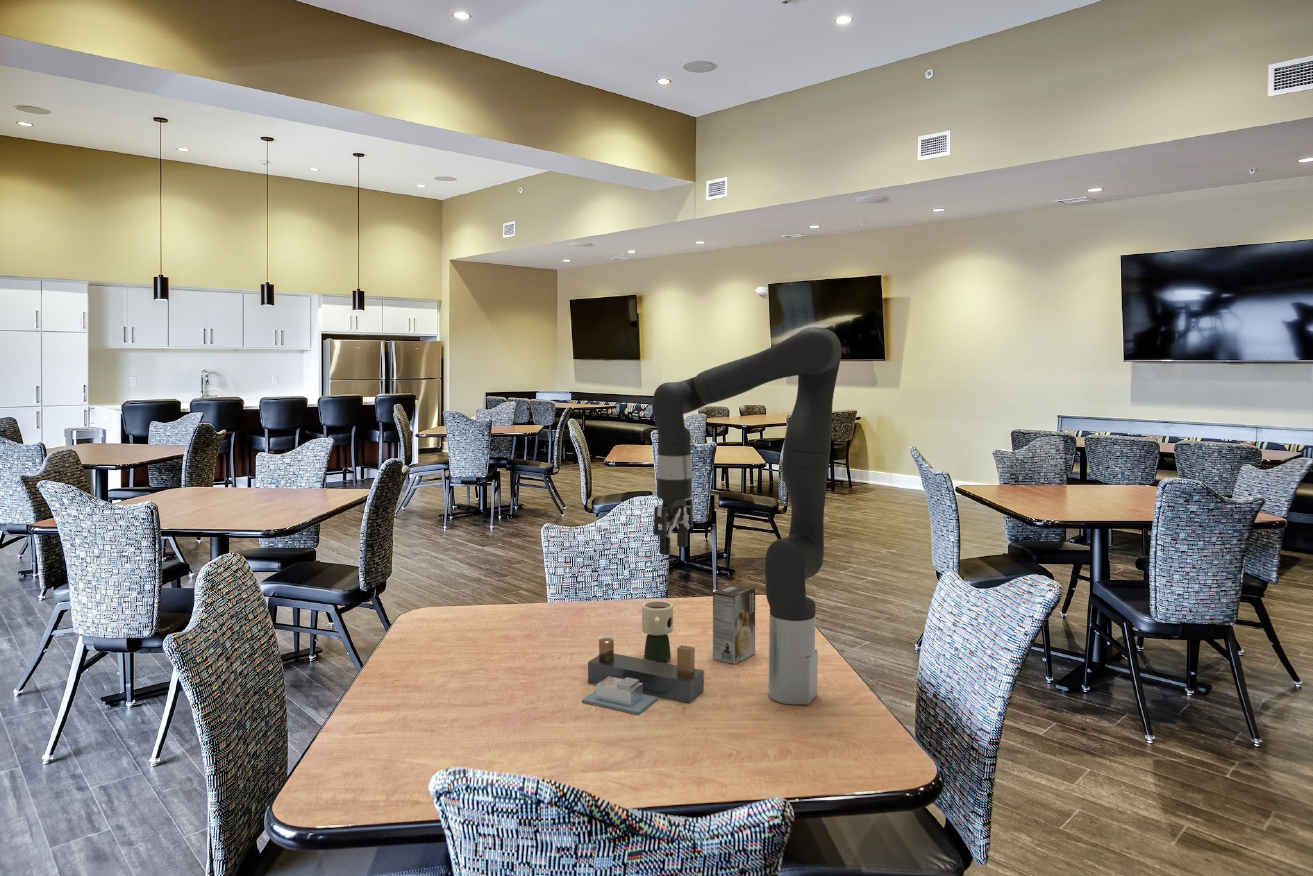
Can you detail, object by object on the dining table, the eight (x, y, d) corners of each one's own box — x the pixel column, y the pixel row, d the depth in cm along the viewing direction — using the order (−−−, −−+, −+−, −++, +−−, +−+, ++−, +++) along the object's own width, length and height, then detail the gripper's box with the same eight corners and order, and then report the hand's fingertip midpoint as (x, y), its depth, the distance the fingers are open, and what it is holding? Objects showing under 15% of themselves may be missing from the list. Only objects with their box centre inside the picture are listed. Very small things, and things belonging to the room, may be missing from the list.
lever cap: (642, 697, 163) (642, 679, 163) (630, 706, 159) (630, 688, 158) (608, 690, 167) (608, 672, 166) (596, 699, 162) (596, 680, 162)
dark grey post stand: (703, 691, 168) (704, 644, 167) (689, 703, 162) (689, 655, 161) (604, 671, 179) (604, 627, 178) (588, 682, 173) (587, 636, 172)
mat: (657, 700, 163) (657, 697, 163) (638, 715, 156) (638, 712, 156) (602, 688, 169) (602, 685, 169) (581, 702, 162) (581, 699, 162)
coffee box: (732, 648, 194) (733, 583, 193) (755, 654, 190) (756, 587, 189) (711, 659, 187) (712, 591, 185) (735, 665, 183) (736, 596, 181)
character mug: (673, 668, 181) (673, 611, 180) (641, 668, 181) (641, 611, 180) (672, 651, 192) (672, 598, 191) (642, 651, 192) (642, 597, 191)
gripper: (675, 480, 164) (675, 559, 165) (703, 473, 176) (703, 545, 178) (642, 478, 167) (642, 555, 169) (673, 471, 180) (672, 542, 181)
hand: (673, 550), depth 173 cm, fingers open, 8 cm apart
